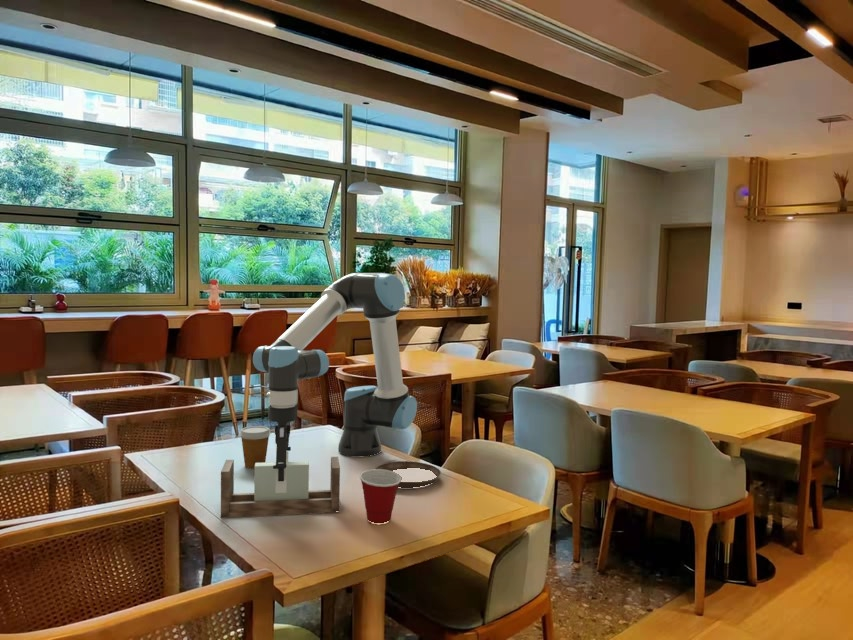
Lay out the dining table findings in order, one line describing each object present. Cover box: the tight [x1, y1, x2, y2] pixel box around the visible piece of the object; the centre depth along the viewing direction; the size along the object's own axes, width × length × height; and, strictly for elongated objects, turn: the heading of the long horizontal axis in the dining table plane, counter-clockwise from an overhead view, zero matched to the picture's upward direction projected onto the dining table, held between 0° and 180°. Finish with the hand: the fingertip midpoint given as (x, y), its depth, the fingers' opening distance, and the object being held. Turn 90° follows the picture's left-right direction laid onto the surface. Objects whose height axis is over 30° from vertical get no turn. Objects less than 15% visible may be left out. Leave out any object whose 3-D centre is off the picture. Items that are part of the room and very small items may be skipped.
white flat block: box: [253, 460, 310, 501], centre depth 163 cm, size 14×3×11 cm, turn 101°
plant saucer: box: [374, 460, 442, 488], centre depth 188 cm, size 21×21×3 cm
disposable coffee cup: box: [239, 425, 271, 470], centre depth 197 cm, size 10×10×12 cm
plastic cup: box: [359, 468, 402, 523], centre depth 156 cm, size 11×11×12 cm
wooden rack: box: [220, 456, 341, 518], centre depth 163 cm, size 30×10×12 cm, turn 101°
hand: (282, 483), depth 163 cm, fingers open, 13 cm apart
